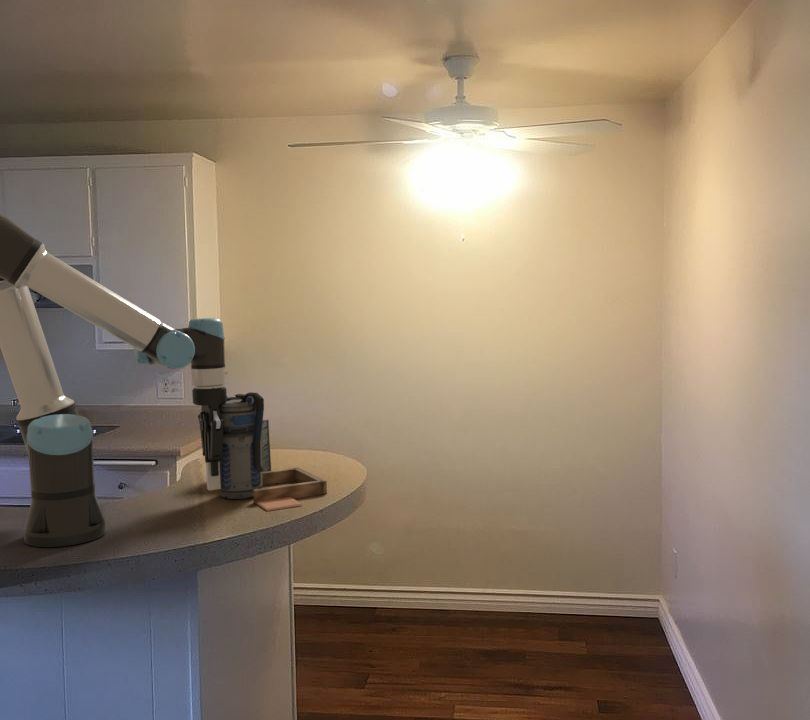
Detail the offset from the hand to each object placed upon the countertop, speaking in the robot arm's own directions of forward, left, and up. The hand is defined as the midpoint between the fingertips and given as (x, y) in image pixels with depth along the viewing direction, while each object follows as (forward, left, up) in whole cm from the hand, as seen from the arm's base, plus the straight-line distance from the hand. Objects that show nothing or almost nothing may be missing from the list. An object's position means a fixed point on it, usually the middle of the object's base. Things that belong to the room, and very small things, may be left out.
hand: (214, 488), depth 189 cm
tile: (+11, -12, -3) cm, 16 cm away
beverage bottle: (+7, 0, -3) cm, 7 cm away
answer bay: (+15, 0, -3) cm, 15 cm away
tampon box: (+13, +18, -3) cm, 22 cm away
